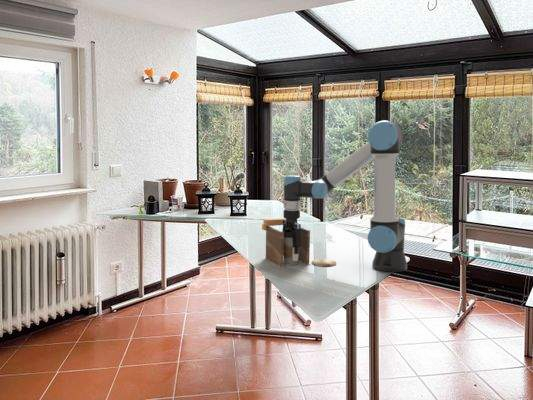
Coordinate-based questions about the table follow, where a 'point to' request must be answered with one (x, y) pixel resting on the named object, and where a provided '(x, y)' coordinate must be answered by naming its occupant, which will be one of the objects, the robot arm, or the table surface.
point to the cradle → (277, 244)
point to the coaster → (323, 262)
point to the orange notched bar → (272, 222)
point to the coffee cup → (288, 248)
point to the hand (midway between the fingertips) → (290, 258)
